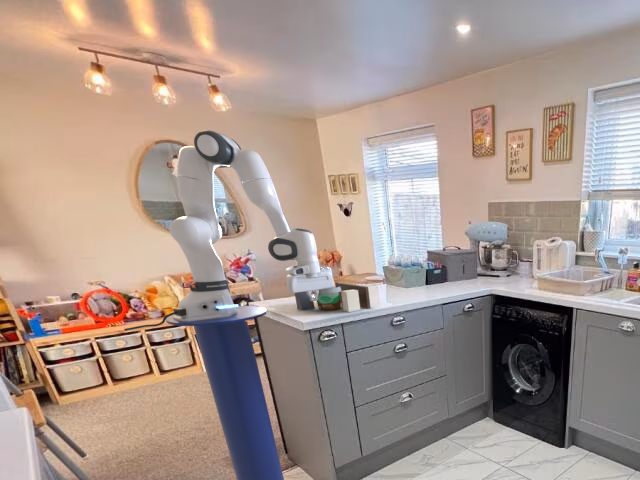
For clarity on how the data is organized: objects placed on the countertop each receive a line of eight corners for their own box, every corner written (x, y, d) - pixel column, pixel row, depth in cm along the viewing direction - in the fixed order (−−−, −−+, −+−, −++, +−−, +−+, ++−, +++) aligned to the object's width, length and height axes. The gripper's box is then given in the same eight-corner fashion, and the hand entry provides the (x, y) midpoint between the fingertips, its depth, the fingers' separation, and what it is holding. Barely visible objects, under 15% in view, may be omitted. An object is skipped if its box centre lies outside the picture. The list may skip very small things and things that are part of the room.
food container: (315, 312, 185) (311, 289, 181) (315, 309, 190) (311, 287, 186) (344, 310, 189) (341, 288, 186) (343, 307, 195) (341, 286, 191)
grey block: (302, 310, 188) (298, 290, 184) (297, 309, 190) (293, 289, 187) (314, 308, 192) (311, 289, 189) (309, 307, 194) (306, 288, 191)
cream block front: (349, 312, 186) (346, 291, 182) (343, 310, 188) (340, 290, 184) (360, 309, 190) (357, 290, 187) (355, 308, 192) (352, 289, 189)
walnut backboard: (367, 308, 193) (365, 287, 189) (338, 302, 206) (335, 282, 202) (370, 308, 194) (368, 286, 190) (340, 302, 207) (337, 282, 203)
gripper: (327, 266, 187) (331, 296, 192) (281, 269, 172) (287, 303, 177) (334, 267, 184) (339, 298, 189) (289, 271, 168) (295, 304, 174)
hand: (314, 300), depth 183 cm, fingers closed
